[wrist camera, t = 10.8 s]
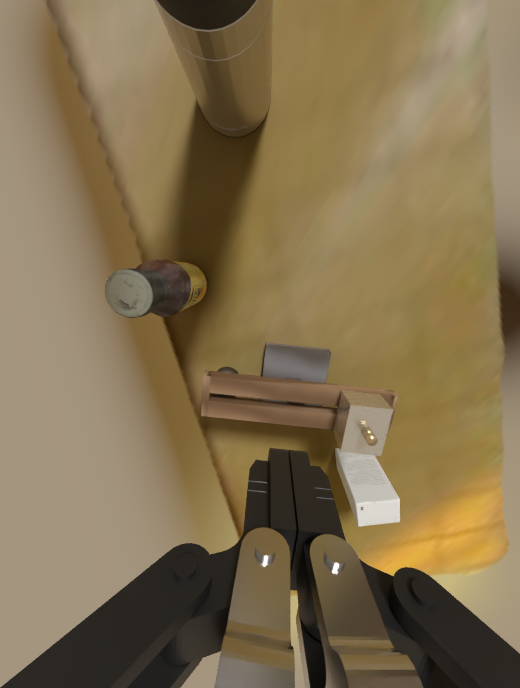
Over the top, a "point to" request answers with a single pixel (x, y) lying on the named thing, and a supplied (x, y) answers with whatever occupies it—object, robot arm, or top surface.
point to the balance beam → (281, 390)
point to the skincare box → (367, 489)
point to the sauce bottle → (155, 288)
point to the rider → (362, 423)
